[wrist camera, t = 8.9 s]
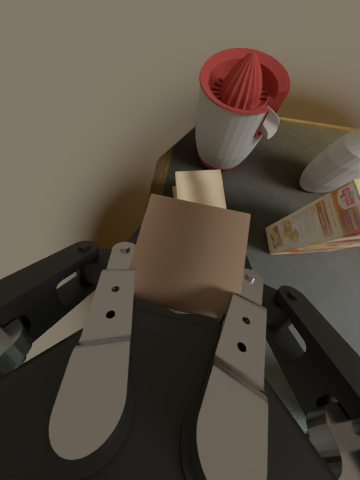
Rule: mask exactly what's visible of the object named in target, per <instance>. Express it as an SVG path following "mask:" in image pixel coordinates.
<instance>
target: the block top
mask: <svg viewBox="0 0 360 480" xmlns="http://www.w3.org/2000/svg"><path fill="white" fill-rule="evenodd" d="M175 175H176V196H177V199H181V200H186V201H190V202H195V203H200V204H205V205H210V206H214V207H219V208H224V209H226V203H225V196H224V189H223V183H222V176H221V170H201V171H182V172H175Z"/></svg>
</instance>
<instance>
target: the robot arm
mask: <svg viewBox="0 0 360 480" xmlns="http://www.w3.org/2000/svg"><path fill="white" fill-rule="evenodd" d="M140 229H141V227H139V228H138V229H137V230H136V231H135V233H134V234H133V235H132V236H131V237H130V238H129V239H128V240H127V242H121V243H118V244H116V245H114V247H113V248H112V249H98V244H97V243H95V242H93V241H81V242H78V243H75V244H73V245H71V246H69V247H67V248H65V249H63V250H61V251H59V252H57V253H54V254H53V255H50V256H48V257H47V258H44V259H42V260H40V261H38V262H36V263H34V264H32V265H30V266H27V267H26V268H23V269H22V270H19V271H17V272H15V273H13V274H11V275H9V276H7V277H5V278H3V279H1V280H0V480H360V356H359V355H358V354H357V353H356V352H355V351H354V350H353V349H352V348H351V347H350V345H349V344H348V343H347V342H346V341H345V340H344V339H343V338H342V337H341V336H340V334H339V333H338V332H337V331H336V330H335V329H334V328H333V327H332V326H331V325H330V323H329V322H328V321H327V320H326V319H325V318H324V317H323V316H322V315H321V314H320V312H319V311H318V310H317V309H316V308H315V307H314V306H313V305H312V304H311V303H310V301H309V300H308V299H307V298H306V297H305V296H304V295H303V294H302V293H301V292H299V291H298V290H296V289H294V288H292V287H290V286H281V287H280V288H279V289H278V290H276V289H274V288H272V287H270V286H267V285H265V284H264V283H263V279H262V277H261V276H260V275H259V274H258V273H256V272H255V271H253V270H252V268H251V266H250V263H249V260H248V258H247V256H246V257H245V265H244V273H243V282H242V290H241V294H240V293H236V292H234V291H233V292H232V294H231V296H230V299H229V301H228V303H227V306H226V308H225V311H224V313H223V316H222V318H221V320H220V321H219V319H218V318H214V317H210V316H206V315H201V314H176V313H174V312H172V311H170V310H168V309H166V308H164V307H162V306H161V305H159V304H156V303H152V302H148V301H144V300H139V299H138V300H137V302H136V300H135V278H136V269H132V268H129V266H130V262H131V259H132V256H133V253H134V249H135V246H136V243H137V239H138V236H139V233H140ZM74 272H76V274H77V276H75V277H74V278H72V279H71V280H70V281H68V282H67V283H65V284H64V285H62V286H61V287H59V288H58V289H56V287H57V285H58V284H59V283H60V282H61V281H62V280H63V279H65V278H66V277H68V276H70V275H71V274H73V273H74ZM95 289H96V291H95V294H94V297H93V300H92V303H91V307H90V310H89V313H88V316H87V319H86V322H85V325H84V328H82V329H80V330H79V331H77V332H76V333H74V334H72V335H70V336H69V337H67V338H66V339H64V340H62V341H60V342H59V343H57V344H55V345H54V346H52V347H50V348H49V349H47V350H45V351H44V352H42V353H40V354H39V355H37V356H35V357H34V358H32V359H30V360H29V361H27V362H25V363H24V361H25V360H26V355H27V354H28V352H29V350H30V349H31V347H32V343H33V342H34V341H35V340H36V339H38V338H39V337H40V336H41V335H42V334H44V333H45V332H46V331H47V330H48V329H49V328H51V327H52V326H53V325H54V324H55V323H57V322H58V321H59V320H60V319H61V318H62V317H64V316H65V315H66V314H67V313H68V312H70V311H71V310H72V309H73V308H74V307H75V306H77V305H78V304H79V303H80V302H81V301H82V300H84V299H85V298H86V297H87V296H88V295H90V294H91V293H92V292H93V291H94V290H95ZM291 324H293V325H294V327H295V328H296V330H297V331H298V332H299V334H300V335H301V337H302V338H303V340H304V341H305V344H306V352H305V353H304V351H303V349H302V348H301V346H300V345H299V343H298V342H297V340H296V339H295V337H294V336H293V334H292V333H291V331H290V330H289V328H288V327H289V326H290V325H291ZM266 340H267V342H268V344H269V346H270V348H271V349H272V351H273V353H274V355H275V357H276V359H277V361H278V363H279V365H280V367H281V369H282V371H283V373H284V375H285V377H286V379H287V381H288V383H289V385H290V387H291V388H292V390H293V392H294V394H295V396H296V398H297V400H298V402H299V404H300V406H301V408H302V410H303V412H304V414H305V416H306V424H307V429H308V431H307V432H306V434H305V433H304V431H303V430H302V429H301V427H300V426H299V425H298V423H297V422H296V420H295V419H294V418H293V416H292V415H291V413H290V412H289V411H288V409H287V408H286V406H285V405H284V404H283V402H282V401H281V399H280V398H279V397H278V395H277V394H276V392H275V391H274V390H273V388H272V387H271V386H270V384H269V383H268V381H267V380H266V379H265V377H264V368H265V343H266Z"/></svg>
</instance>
